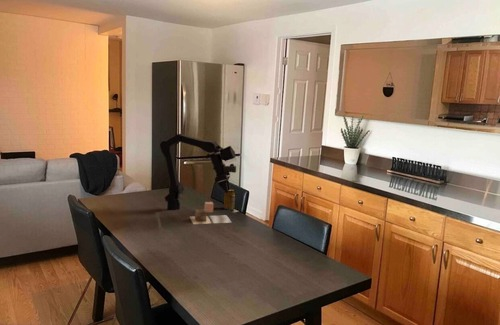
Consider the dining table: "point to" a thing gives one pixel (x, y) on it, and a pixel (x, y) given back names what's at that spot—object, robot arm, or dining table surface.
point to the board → (214, 219)
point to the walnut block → (200, 215)
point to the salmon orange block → (209, 207)
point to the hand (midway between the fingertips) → (228, 191)
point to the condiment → (229, 200)
